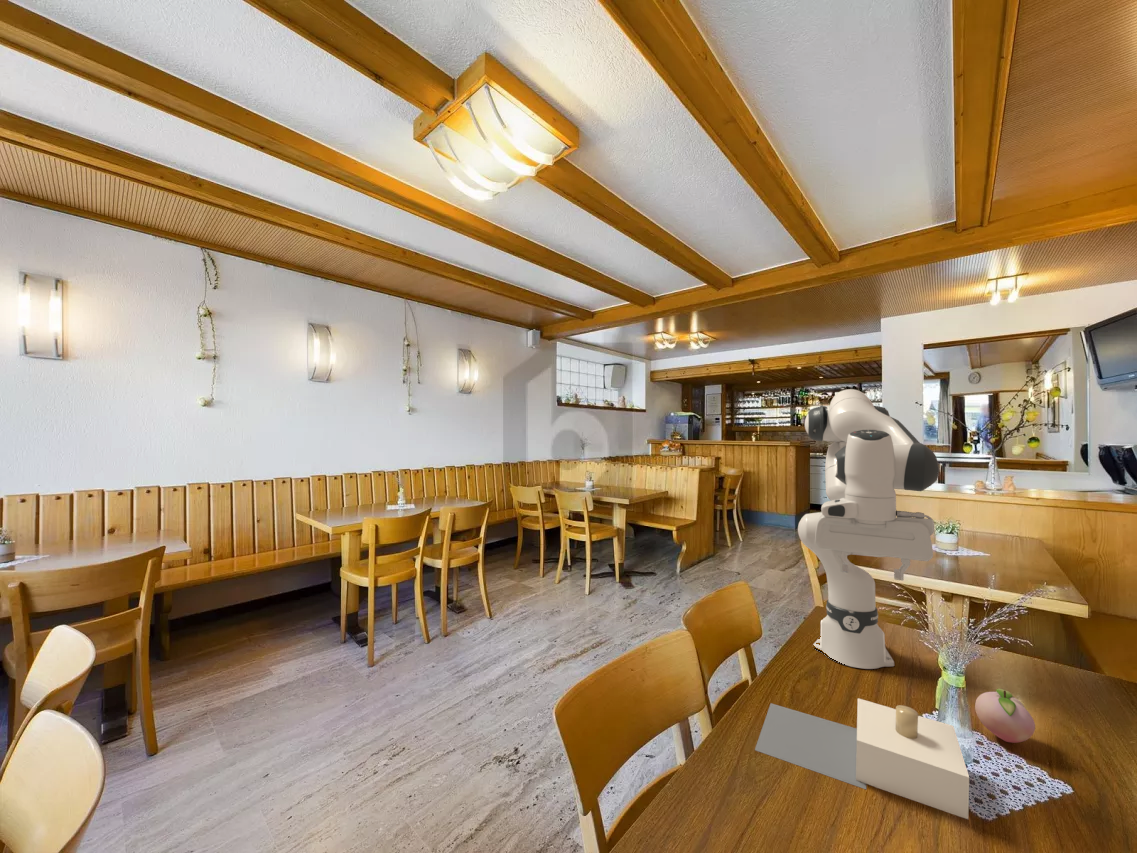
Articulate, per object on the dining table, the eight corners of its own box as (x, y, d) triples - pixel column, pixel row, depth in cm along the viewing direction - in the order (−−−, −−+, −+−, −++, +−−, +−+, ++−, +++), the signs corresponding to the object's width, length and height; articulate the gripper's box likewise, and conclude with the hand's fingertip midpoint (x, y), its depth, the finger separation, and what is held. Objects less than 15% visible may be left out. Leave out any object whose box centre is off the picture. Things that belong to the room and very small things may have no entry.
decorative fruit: (969, 721, 96) (968, 674, 97) (1021, 733, 93) (1021, 684, 93) (984, 748, 88) (983, 696, 88) (1042, 763, 84) (1041, 708, 84)
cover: (856, 732, 92) (858, 678, 92) (952, 763, 84) (953, 704, 84) (855, 779, 80) (857, 717, 80) (968, 821, 72) (969, 752, 72)
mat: (770, 704, 103) (770, 703, 103) (865, 733, 93) (865, 731, 93) (754, 752, 88) (754, 749, 88) (866, 791, 78) (866, 789, 78)
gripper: (932, 510, 91) (932, 579, 91) (816, 502, 102) (816, 563, 102) (936, 516, 86) (937, 589, 86) (813, 507, 97) (814, 571, 97)
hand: (870, 575), depth 94 cm, fingers open, 8 cm apart
